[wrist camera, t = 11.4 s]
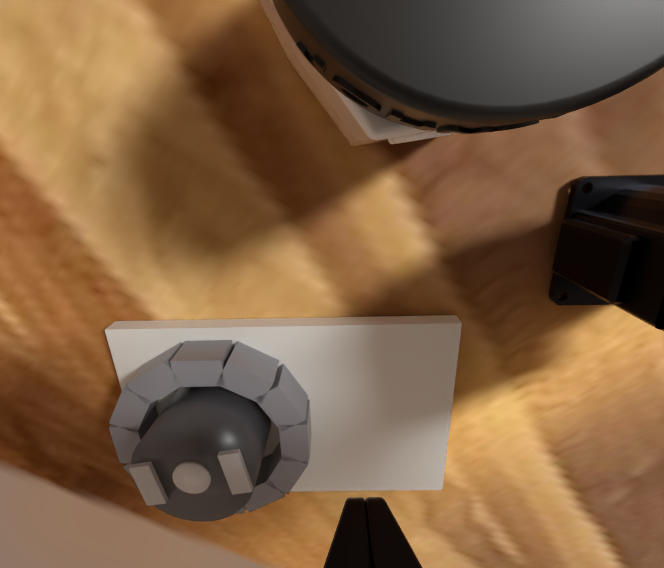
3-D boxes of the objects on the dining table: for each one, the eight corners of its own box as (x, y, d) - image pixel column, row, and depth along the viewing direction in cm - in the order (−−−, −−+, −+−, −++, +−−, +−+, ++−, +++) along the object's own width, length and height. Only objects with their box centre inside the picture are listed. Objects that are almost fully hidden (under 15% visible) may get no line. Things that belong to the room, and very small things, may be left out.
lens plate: (456, 315, 20) (476, 342, 17) (437, 476, 24) (451, 520, 21) (115, 321, 20) (79, 349, 17) (157, 479, 24) (134, 523, 21)
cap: (255, 367, 20) (232, 420, 16) (282, 451, 21) (267, 518, 17) (154, 384, 20) (107, 439, 16) (188, 465, 22) (154, 532, 18)
